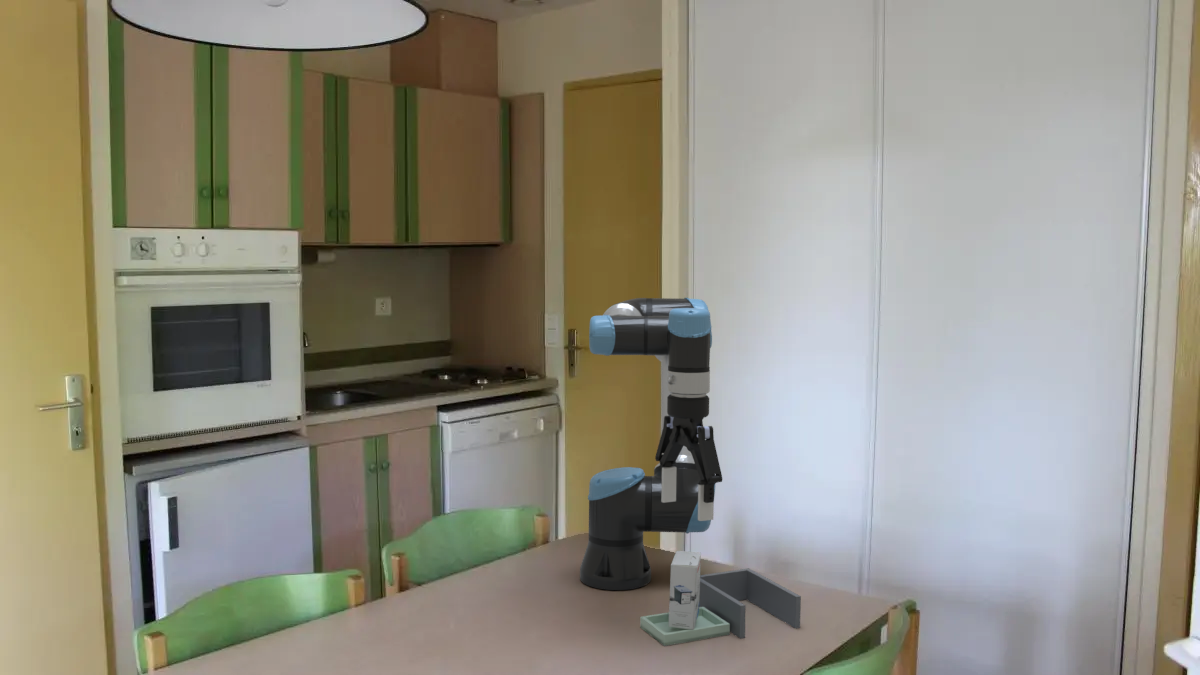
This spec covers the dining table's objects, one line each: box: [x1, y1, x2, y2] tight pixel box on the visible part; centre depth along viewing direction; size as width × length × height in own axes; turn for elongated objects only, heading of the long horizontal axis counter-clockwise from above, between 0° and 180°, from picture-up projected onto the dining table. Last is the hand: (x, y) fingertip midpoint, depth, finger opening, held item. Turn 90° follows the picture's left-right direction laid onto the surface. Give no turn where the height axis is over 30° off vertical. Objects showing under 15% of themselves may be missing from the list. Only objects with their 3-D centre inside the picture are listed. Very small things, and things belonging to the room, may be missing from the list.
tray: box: [639, 607, 731, 647], centre depth 174 cm, size 9×13×2 cm
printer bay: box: [699, 568, 802, 640], centre depth 181 cm, size 18×13×6 cm
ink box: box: [668, 550, 702, 630], centre depth 174 cm, size 9×5×12 cm, turn 168°
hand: (686, 510), depth 173 cm, fingers open, 13 cm apart
